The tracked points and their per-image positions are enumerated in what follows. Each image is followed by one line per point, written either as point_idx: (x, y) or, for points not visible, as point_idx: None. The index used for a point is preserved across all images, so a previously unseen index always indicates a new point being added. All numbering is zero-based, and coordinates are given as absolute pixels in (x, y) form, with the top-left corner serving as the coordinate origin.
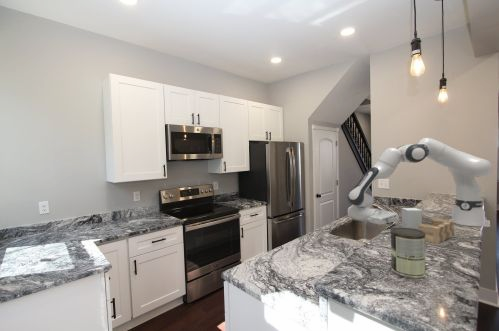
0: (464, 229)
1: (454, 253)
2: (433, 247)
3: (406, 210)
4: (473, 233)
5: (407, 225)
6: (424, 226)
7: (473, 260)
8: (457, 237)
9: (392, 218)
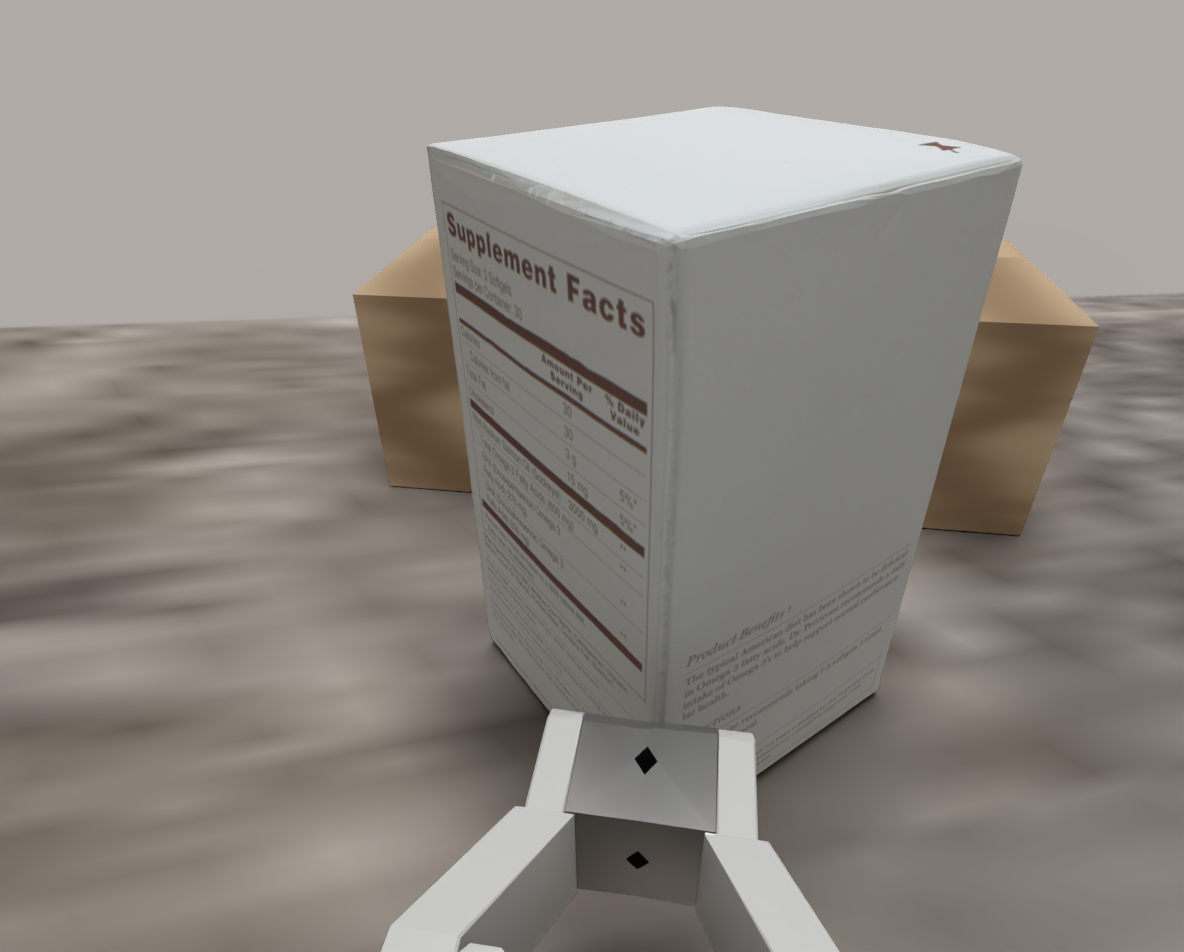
0: (110, 364)
1: (1108, 345)
2: (1142, 422)
3: (995, 177)
4: (278, 329)
5: (913, 545)
6: (1063, 297)
7: (1123, 299)
8: None
9: (799, 899)
